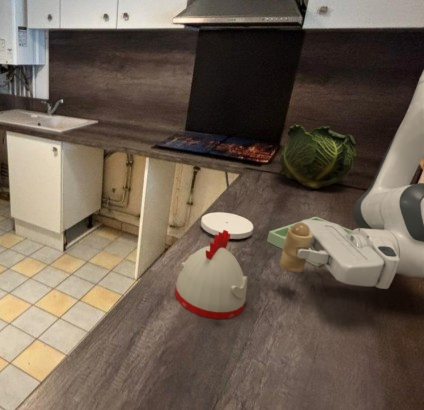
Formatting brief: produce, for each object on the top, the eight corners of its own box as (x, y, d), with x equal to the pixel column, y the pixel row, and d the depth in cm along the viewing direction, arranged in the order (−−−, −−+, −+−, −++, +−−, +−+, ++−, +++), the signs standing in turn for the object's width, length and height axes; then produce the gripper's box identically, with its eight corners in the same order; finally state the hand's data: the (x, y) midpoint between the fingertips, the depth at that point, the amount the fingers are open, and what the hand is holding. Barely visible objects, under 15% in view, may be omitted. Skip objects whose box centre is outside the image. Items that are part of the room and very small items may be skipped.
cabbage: (322, 194, 147) (348, 140, 142) (350, 203, 124) (382, 139, 118) (260, 174, 151) (283, 121, 146) (276, 179, 128) (305, 116, 123)
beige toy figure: (307, 268, 74) (320, 225, 70) (294, 274, 72) (306, 230, 68) (288, 259, 78) (298, 217, 74) (274, 264, 76) (285, 221, 72)
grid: (364, 246, 95) (368, 236, 94) (317, 266, 86) (321, 255, 85) (312, 225, 106) (315, 216, 105) (266, 241, 97) (269, 231, 96)
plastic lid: (223, 216, 112) (224, 208, 111) (262, 234, 101) (264, 226, 100) (190, 226, 106) (191, 218, 105) (228, 246, 95) (229, 238, 94)
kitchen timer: (255, 297, 75) (270, 234, 69) (224, 329, 67) (238, 261, 61) (196, 270, 85) (205, 212, 79) (162, 295, 76) (169, 233, 70)
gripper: (345, 214, 79) (278, 210, 81) (405, 264, 61) (317, 257, 63) (337, 239, 82) (272, 235, 84) (392, 295, 63) (308, 287, 65)
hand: (292, 245), depth 73 cm, fingers closed on beige toy figure, 4 cm apart
